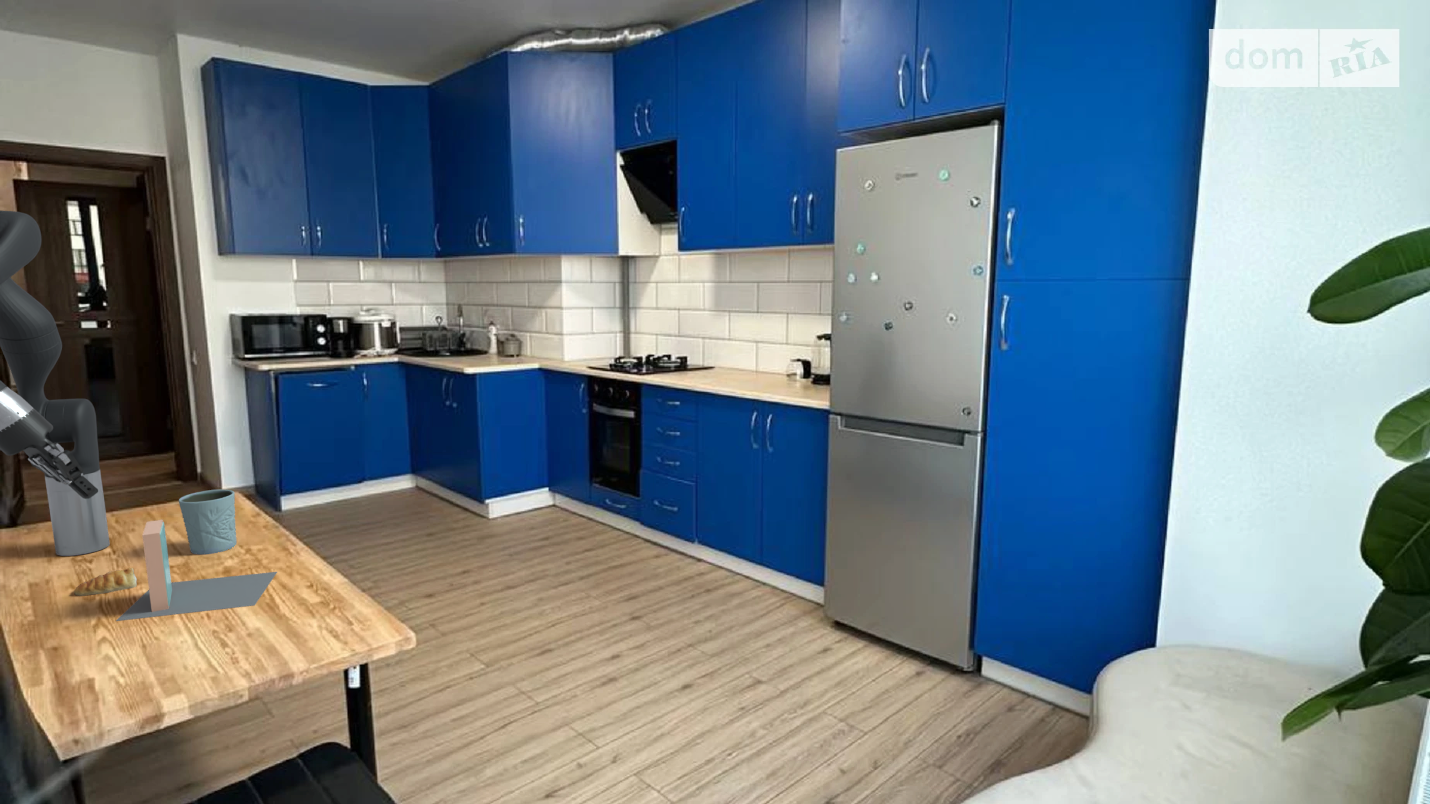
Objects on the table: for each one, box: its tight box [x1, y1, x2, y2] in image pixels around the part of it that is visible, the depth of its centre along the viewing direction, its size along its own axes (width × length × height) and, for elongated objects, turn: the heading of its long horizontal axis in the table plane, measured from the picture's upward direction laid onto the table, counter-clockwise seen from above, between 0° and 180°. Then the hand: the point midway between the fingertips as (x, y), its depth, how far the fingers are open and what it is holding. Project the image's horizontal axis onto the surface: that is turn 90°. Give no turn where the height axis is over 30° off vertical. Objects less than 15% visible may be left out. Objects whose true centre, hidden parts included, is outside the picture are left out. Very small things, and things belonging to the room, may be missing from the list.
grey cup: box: [178, 489, 237, 556], centre depth 168 cm, size 10×10×12 cm
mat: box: [115, 571, 278, 622], centre depth 142 cm, size 17×21×1 cm
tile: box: [141, 519, 172, 612], centre depth 138 cm, size 2×9×14 cm, turn 32°
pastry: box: [73, 567, 137, 597], centre depth 146 cm, size 9×7×4 cm
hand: (92, 495), depth 136 cm, fingers closed
